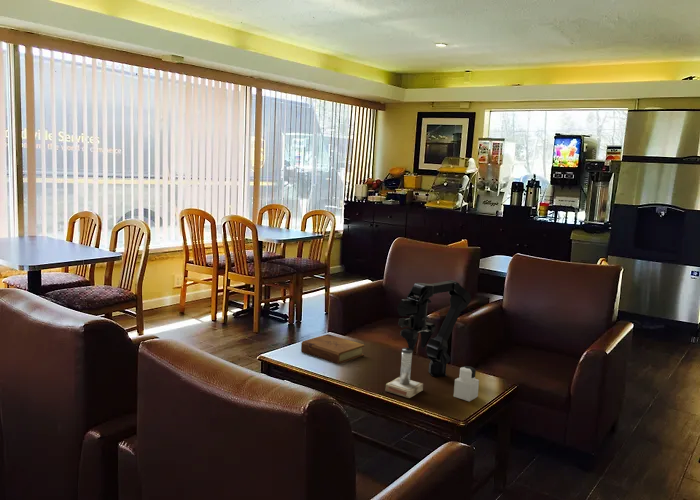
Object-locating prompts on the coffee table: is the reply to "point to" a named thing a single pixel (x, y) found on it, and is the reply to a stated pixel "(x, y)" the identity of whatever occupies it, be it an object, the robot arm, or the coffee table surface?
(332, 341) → the diary
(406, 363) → the steel flask
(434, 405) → the coffee table surface
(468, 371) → the medicine bottle
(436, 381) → the coffee table surface
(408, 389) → the cream napkin pack
